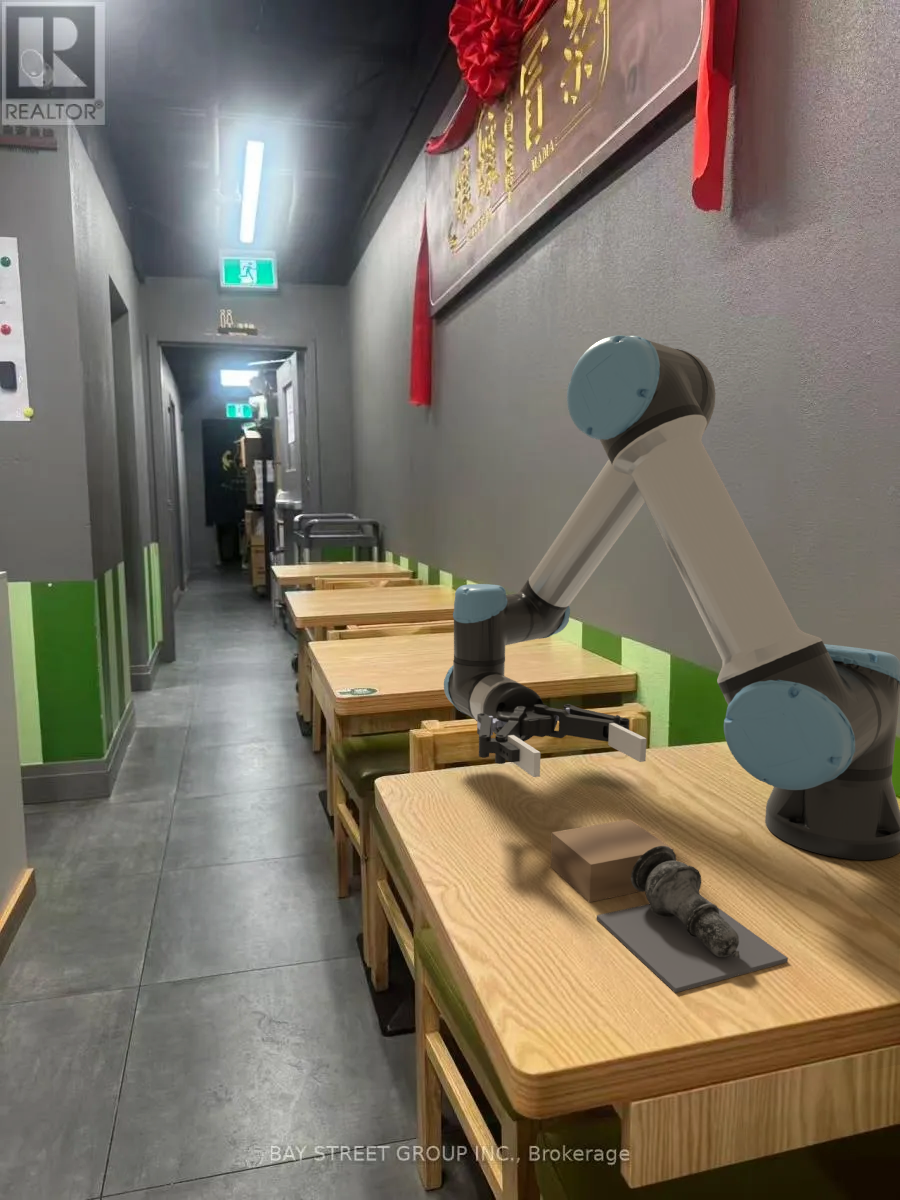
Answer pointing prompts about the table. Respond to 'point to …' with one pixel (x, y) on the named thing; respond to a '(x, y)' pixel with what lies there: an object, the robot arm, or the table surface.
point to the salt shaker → (682, 899)
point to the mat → (686, 948)
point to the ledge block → (601, 857)
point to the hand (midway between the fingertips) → (591, 757)
